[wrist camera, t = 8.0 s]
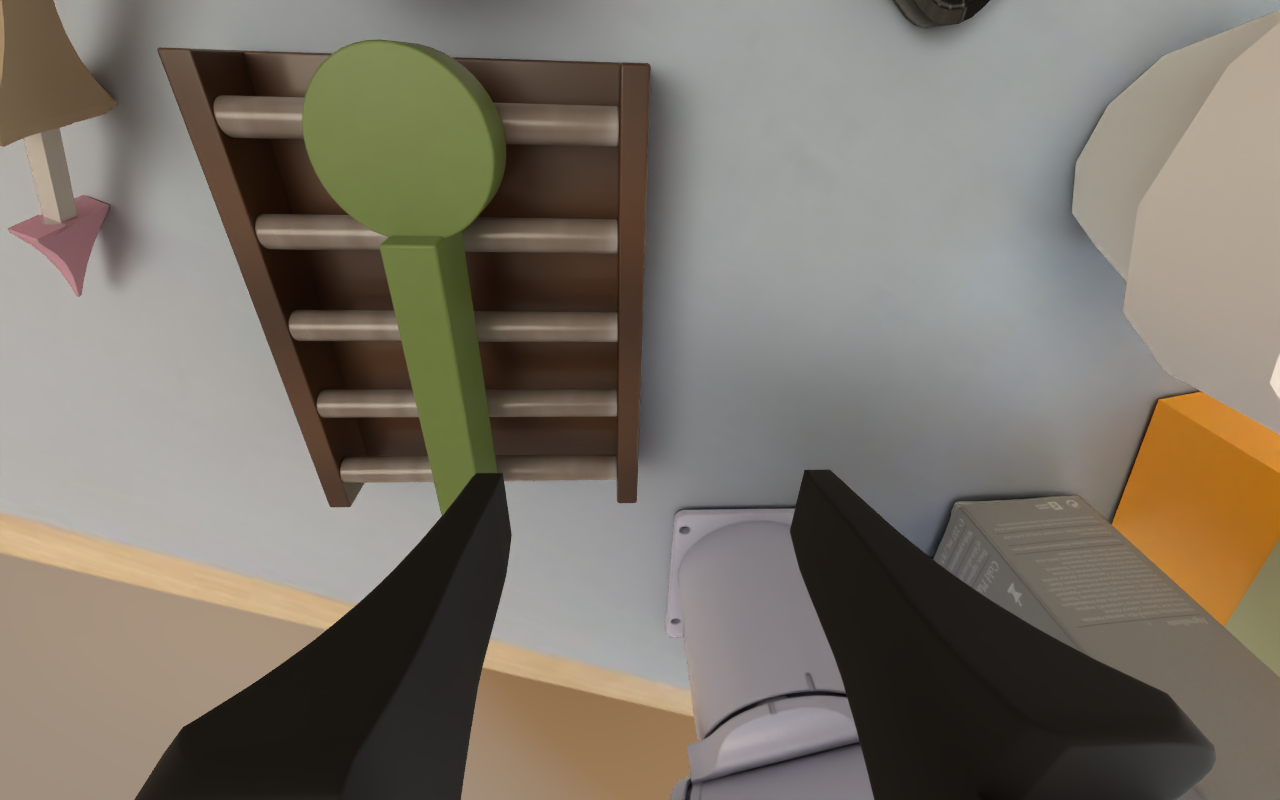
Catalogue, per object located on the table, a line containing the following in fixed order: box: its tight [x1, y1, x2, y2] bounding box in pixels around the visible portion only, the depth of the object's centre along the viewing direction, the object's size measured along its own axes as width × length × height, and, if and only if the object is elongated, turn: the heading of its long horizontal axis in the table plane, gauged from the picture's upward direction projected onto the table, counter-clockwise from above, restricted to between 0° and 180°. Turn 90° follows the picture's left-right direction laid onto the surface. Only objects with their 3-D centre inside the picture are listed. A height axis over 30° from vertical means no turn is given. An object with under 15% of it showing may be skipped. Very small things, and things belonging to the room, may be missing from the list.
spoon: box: [302, 40, 506, 515], centre depth 16 cm, size 14×4×3 cm, turn 179°
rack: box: [157, 48, 651, 507], centre depth 18 cm, size 15×12×3 cm
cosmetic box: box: [933, 495, 1280, 800], centre depth 22 cm, size 8×7×16 cm
